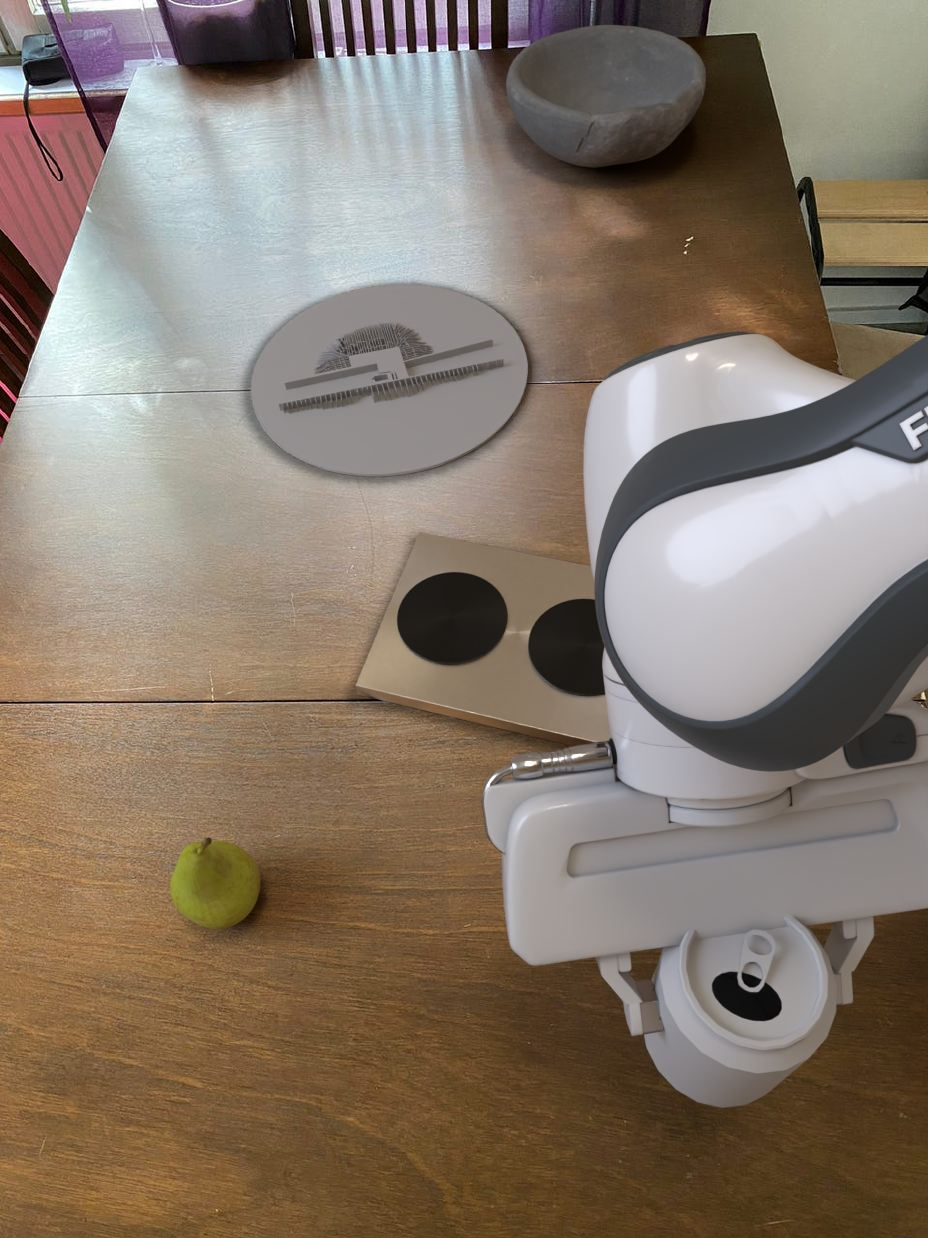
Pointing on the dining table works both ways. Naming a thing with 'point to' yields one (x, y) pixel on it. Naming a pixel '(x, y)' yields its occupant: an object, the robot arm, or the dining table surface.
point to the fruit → (215, 883)
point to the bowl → (605, 93)
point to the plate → (389, 380)
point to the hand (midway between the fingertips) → (738, 1013)
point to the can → (741, 1011)
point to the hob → (493, 642)
